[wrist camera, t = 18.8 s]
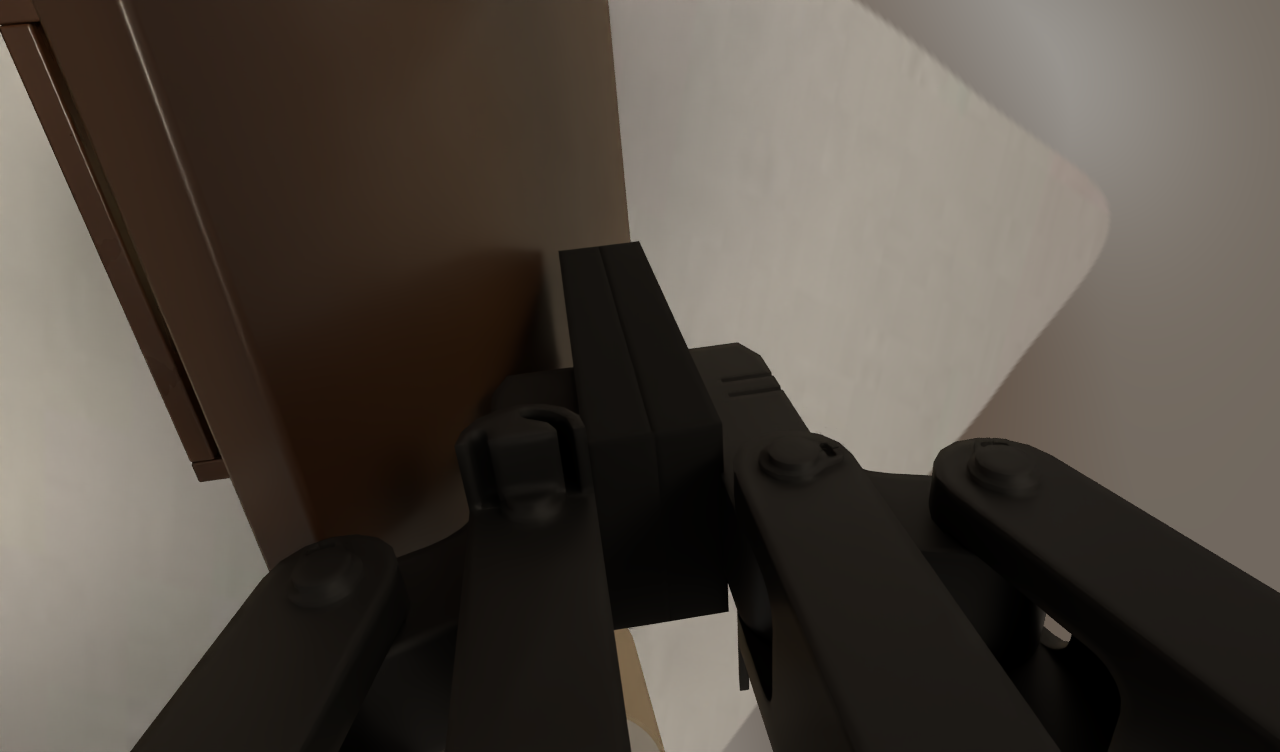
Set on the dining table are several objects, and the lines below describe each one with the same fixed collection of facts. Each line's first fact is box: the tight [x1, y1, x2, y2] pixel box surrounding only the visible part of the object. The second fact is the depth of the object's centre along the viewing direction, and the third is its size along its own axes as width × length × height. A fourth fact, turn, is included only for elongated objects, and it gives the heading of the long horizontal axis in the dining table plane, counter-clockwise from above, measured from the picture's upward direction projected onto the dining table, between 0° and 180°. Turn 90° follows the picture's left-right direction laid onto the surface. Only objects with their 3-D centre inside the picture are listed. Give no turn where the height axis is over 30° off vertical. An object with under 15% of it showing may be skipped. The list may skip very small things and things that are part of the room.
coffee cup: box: [614, 628, 665, 752], centre depth 30 cm, size 9×9×15 cm
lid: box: [31, 0, 630, 572], centre depth 14 cm, size 14×13×1 cm
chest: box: [0, 0, 230, 482], centre depth 23 cm, size 13×13×9 cm
